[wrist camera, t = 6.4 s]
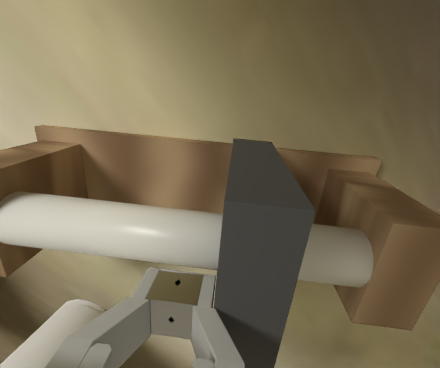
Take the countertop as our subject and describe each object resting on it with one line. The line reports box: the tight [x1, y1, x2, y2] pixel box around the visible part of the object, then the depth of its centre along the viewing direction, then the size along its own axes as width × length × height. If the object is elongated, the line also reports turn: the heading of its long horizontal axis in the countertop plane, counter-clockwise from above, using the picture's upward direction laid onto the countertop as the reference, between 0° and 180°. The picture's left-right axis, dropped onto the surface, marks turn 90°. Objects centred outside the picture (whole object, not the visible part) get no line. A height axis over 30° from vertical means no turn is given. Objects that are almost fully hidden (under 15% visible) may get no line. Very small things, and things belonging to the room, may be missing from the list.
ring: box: [214, 139, 316, 368], centre depth 13 cm, size 2×10×10 cm, turn 175°
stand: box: [0, 125, 440, 330], centre depth 15 cm, size 26×8×8 cm, turn 85°
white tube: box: [0, 191, 374, 288], centre depth 13 cm, size 23×3×3 cm, turn 85°
